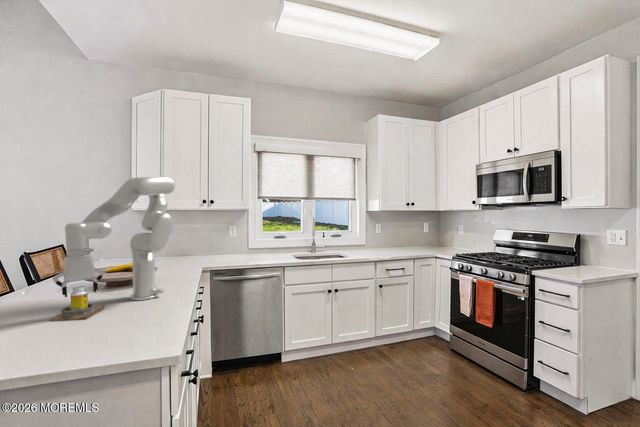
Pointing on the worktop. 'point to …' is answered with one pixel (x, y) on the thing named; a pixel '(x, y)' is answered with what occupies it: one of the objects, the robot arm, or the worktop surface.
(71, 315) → the rosette collar
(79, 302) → the supplement bottle
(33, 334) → the worktop surface
